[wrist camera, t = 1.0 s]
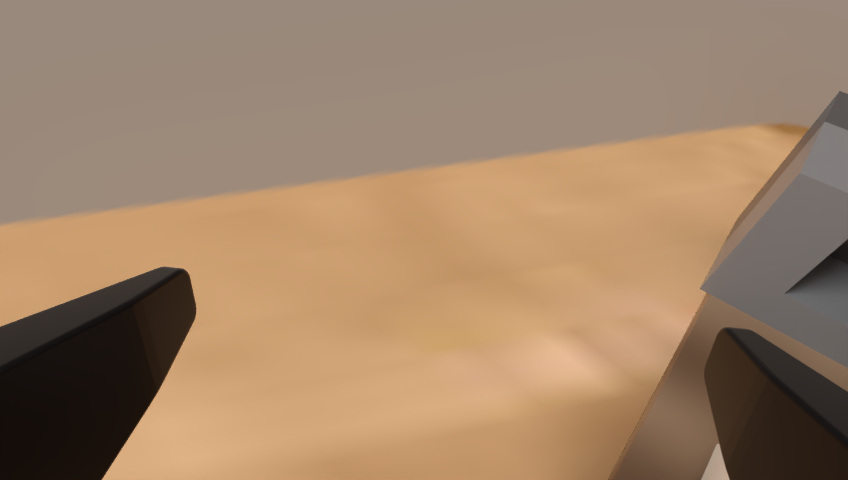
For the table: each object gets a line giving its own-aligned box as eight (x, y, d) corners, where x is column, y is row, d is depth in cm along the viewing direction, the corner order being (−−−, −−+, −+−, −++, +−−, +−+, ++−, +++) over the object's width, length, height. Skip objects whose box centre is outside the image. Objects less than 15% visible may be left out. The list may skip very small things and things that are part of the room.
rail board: (850, 860, 15) (879, 879, 14) (544, 600, 18) (550, 600, 17) (965, 329, 24) (988, 318, 23) (743, 224, 27) (754, 210, 26)
